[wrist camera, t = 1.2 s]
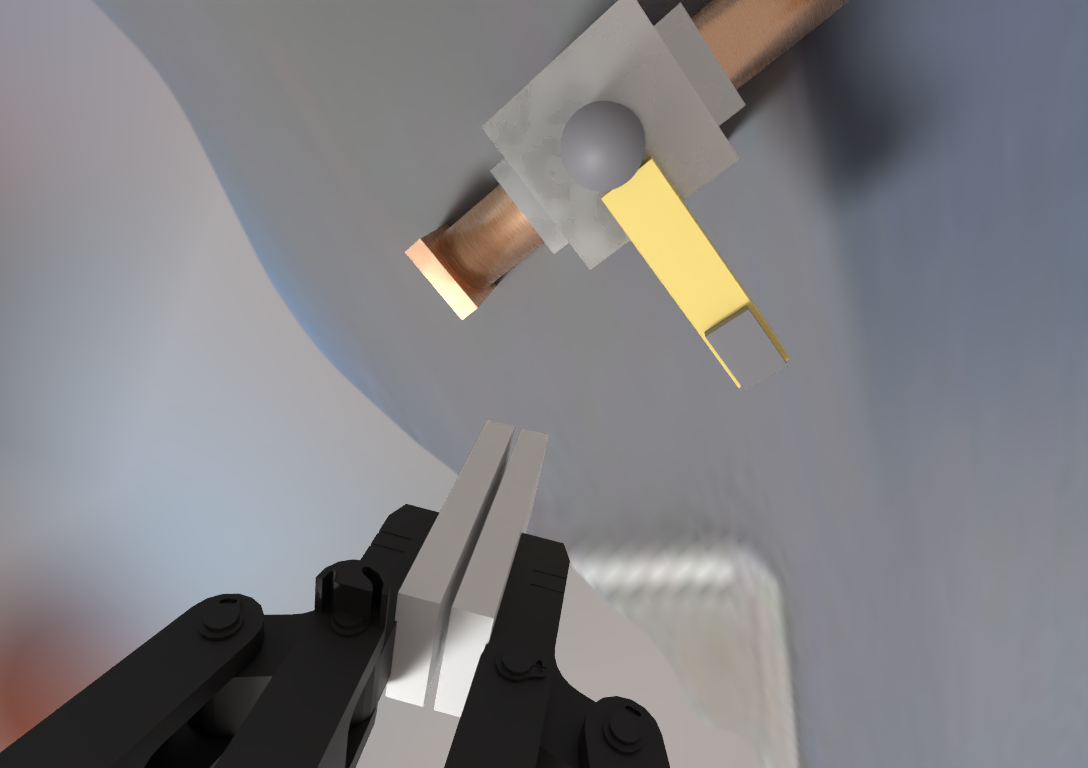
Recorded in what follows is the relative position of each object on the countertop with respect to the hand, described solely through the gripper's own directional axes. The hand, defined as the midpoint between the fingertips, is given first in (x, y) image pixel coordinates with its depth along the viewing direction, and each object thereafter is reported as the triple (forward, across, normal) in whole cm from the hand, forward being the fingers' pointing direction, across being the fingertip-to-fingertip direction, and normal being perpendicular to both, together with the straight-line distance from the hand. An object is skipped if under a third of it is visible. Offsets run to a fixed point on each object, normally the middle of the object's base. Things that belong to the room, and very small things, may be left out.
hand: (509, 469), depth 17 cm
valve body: (+22, 0, +8) cm, 24 cm away
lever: (+14, +4, +5) cm, 15 cm away
